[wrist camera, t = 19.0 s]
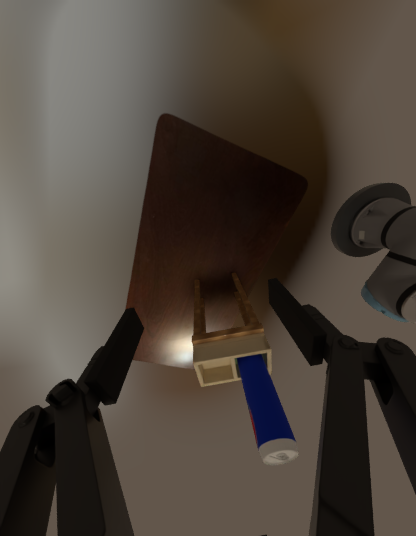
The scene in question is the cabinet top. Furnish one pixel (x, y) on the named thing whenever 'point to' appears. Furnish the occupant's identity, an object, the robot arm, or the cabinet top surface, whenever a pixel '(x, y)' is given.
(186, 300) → the cabinet top surface
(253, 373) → the beverage can
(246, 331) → the shelf
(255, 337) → the tray
